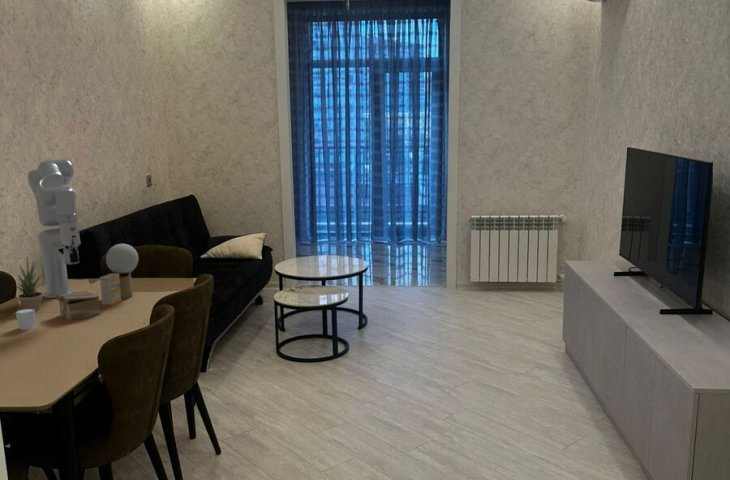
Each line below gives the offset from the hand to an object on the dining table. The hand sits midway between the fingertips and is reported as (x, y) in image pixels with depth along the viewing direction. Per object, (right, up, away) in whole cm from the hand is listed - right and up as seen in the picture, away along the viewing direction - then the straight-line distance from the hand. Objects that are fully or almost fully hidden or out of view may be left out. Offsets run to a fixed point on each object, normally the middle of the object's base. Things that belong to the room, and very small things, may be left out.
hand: (71, 260), depth 282 cm
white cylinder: (-13, -27, -12) cm, 32 cm away
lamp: (+11, -18, +32) cm, 38 cm away
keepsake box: (+2, -23, +5) cm, 24 cm away
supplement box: (+9, -20, +21) cm, 31 cm away
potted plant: (-23, -22, +13) cm, 35 cm away
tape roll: (0, -1, 0) cm, 1 cm away
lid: (+1, -17, +3) cm, 17 cm away
